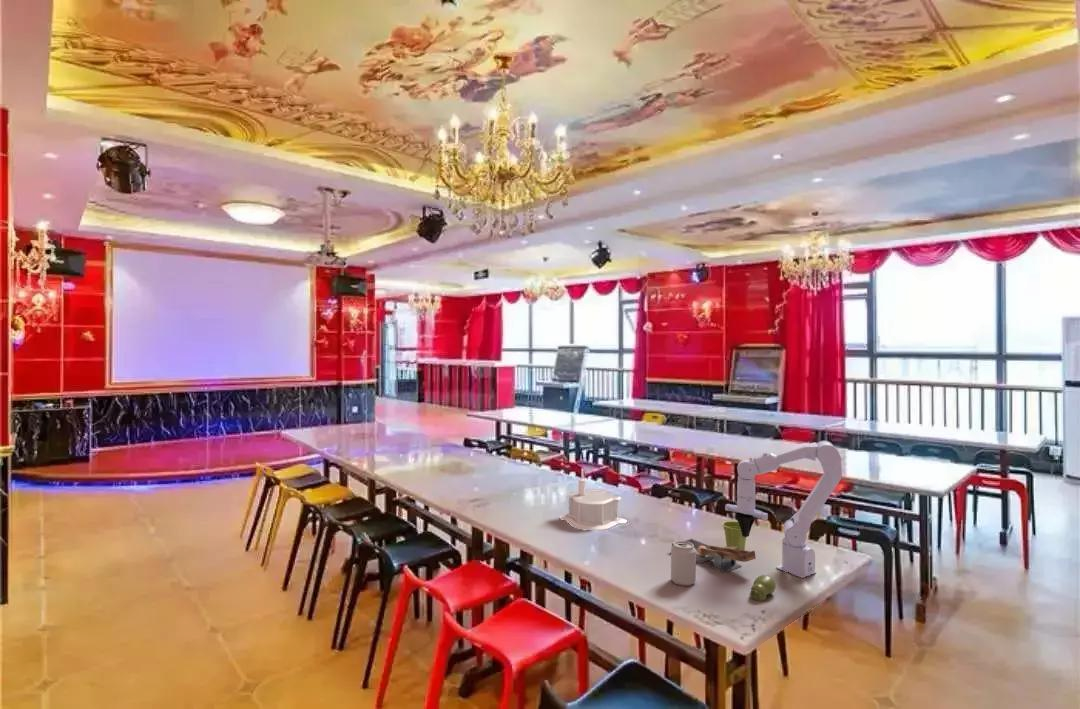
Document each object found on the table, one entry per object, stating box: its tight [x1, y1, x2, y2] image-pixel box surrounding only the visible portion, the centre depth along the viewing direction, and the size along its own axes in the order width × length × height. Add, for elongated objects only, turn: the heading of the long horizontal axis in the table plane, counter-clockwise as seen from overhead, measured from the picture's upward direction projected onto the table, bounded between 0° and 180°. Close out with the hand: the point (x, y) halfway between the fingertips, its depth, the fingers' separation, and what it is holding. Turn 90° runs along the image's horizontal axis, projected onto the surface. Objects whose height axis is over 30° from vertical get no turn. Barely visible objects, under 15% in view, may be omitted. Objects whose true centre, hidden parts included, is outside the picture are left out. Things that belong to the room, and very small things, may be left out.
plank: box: [701, 545, 757, 563], centre depth 187 cm, size 18×13×2 cm
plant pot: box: [721, 520, 747, 551], centre depth 202 cm, size 9×9×9 cm
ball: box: [697, 546, 707, 556], centre depth 194 cm, size 4×4×4 cm
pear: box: [749, 574, 777, 602], centre depth 164 cm, size 6×5×10 cm
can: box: [670, 540, 697, 587], centre depth 173 cm, size 8×8×12 cm
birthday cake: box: [560, 468, 627, 530], centre depth 235 cm, size 30×29×22 cm
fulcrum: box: [708, 553, 742, 574], centre depth 186 cm, size 6×9×5 cm, turn 123°
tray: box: [671, 538, 714, 564], centre depth 196 cm, size 12×10×3 cm
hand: (745, 536), depth 188 cm, fingers closed
